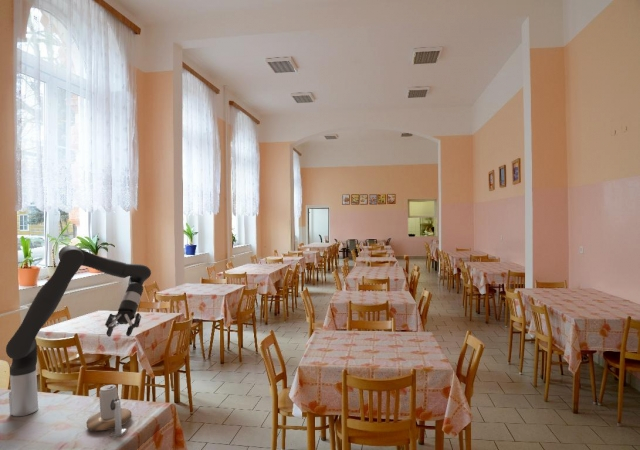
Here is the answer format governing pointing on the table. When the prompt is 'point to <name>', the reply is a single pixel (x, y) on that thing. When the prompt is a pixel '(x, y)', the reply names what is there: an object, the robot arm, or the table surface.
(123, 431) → the stand
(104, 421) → the disc
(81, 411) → the table surface
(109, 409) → the beverage can
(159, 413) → the table surface
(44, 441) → the table surface
